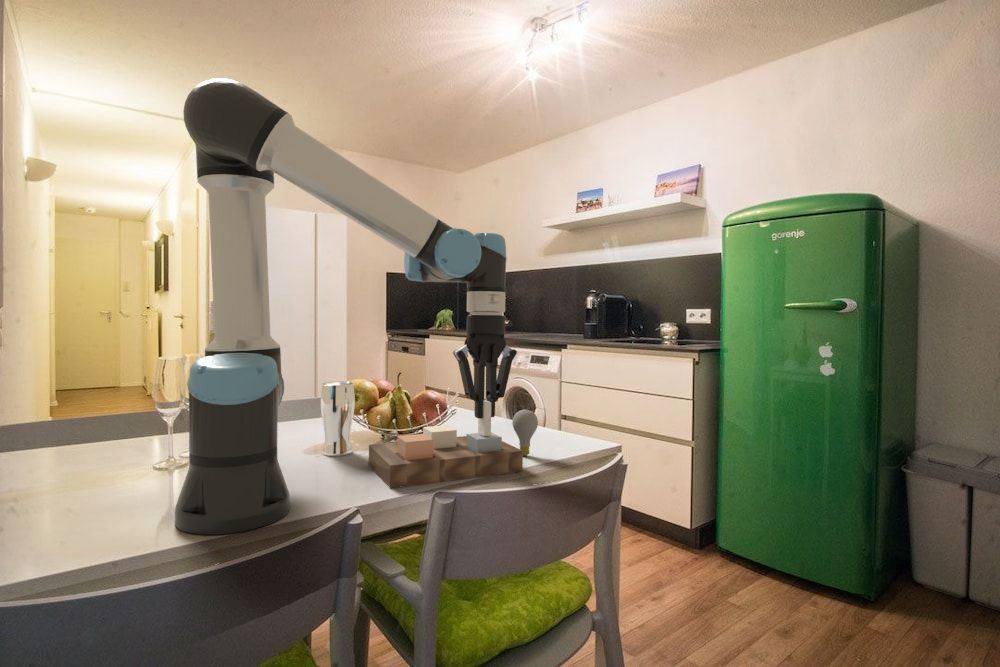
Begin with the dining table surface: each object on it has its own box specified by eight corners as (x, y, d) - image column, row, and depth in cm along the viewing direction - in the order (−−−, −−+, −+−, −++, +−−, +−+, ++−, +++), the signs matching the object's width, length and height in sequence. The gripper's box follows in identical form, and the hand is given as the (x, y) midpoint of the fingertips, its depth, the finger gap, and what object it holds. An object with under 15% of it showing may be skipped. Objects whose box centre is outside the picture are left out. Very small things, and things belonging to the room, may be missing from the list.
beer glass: (348, 457, 113) (349, 385, 112) (315, 456, 113) (316, 385, 113) (358, 449, 120) (358, 381, 119) (326, 448, 120) (327, 381, 120)
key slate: (476, 465, 103) (477, 439, 103) (466, 458, 108) (466, 433, 108) (501, 462, 105) (501, 437, 105) (489, 456, 110) (490, 431, 110)
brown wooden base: (389, 488, 93) (390, 465, 93) (368, 464, 108) (368, 444, 107) (522, 471, 105) (522, 450, 105) (487, 452, 119) (487, 434, 119)
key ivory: (431, 457, 105) (431, 432, 105) (422, 451, 110) (423, 427, 110) (456, 455, 108) (456, 430, 107) (447, 449, 112) (447, 425, 112)
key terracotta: (405, 469, 97) (405, 442, 97) (397, 462, 101) (397, 436, 101) (432, 466, 99) (433, 439, 99) (423, 459, 104) (424, 433, 104)
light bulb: (527, 460, 113) (528, 412, 112) (506, 456, 116) (507, 409, 116) (542, 455, 117) (543, 409, 117) (521, 451, 120) (522, 406, 120)
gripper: (462, 313, 99) (461, 441, 100) (524, 314, 105) (522, 435, 106) (447, 313, 106) (446, 433, 107) (506, 314, 112) (505, 427, 113)
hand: (484, 434), depth 106 cm, fingers closed
